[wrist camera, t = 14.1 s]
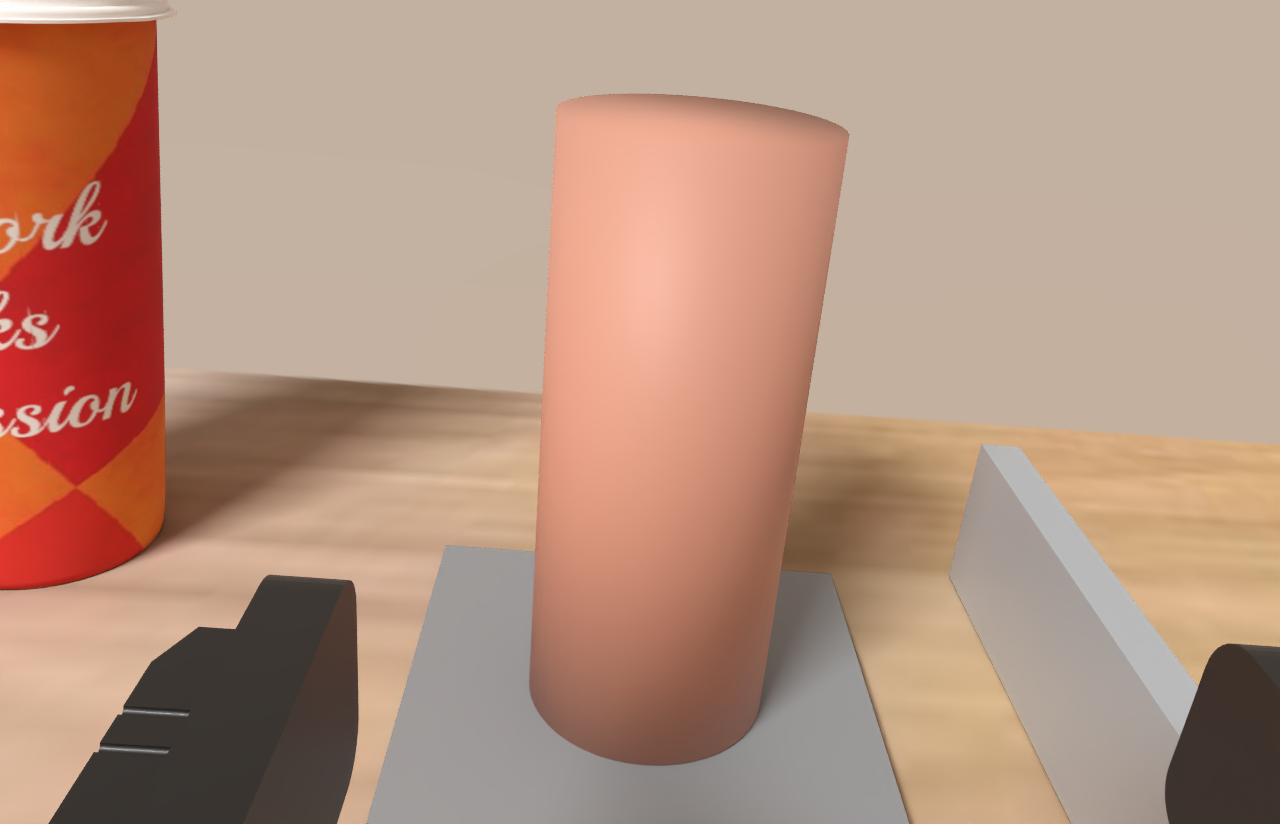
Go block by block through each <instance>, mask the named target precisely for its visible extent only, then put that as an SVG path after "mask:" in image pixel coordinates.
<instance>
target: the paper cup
mask: <svg viewBox="0 0 1280 824" xmlns="http://www.w3.org/2000/svg"><path fill="white" fill-rule="evenodd" d="M176 14H177V11H176V10H174V9H173V8H171V7H170V6H168V2H167V0H0V590H18V589H32V588H41V587H48V586H54V585H59V584H64V583H69V582H73V581H77V580H80V579H84V578H87V577H90V576H94V575H96V574H99V573H102V572H104V571H107V570H109V569H112V568H114V567H116V566H118V565H120V564H122V563H124V562H126V561H128V560H129V559H131V558H133V557H134V556H136V555H137V554H139V553H140V552H142V551H143V550H144V549H145V548H147V547H148V546H149V545H150V544H151V543H152V542H153V541H154V540H155V538H156V537H157V536H158V534H159V532H160V531H161V528H162V526H163V521H164V514H165V493H166V442H165V377H164V332H163V331H164V328H163V281H162V241H161V240H162V239H161V199H160V156H159V113H158V72H157V28H156V20H159V19H164V18H169V17H172V16H174V15H176Z"/></svg>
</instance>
